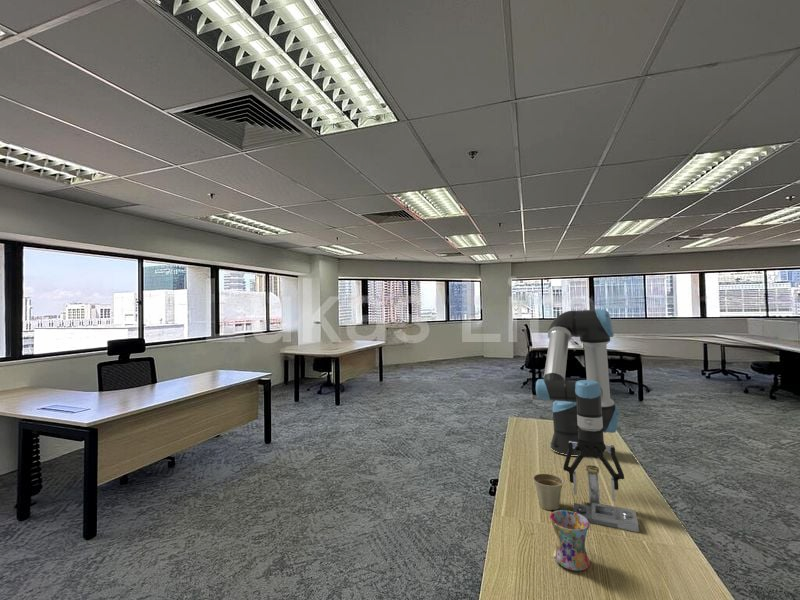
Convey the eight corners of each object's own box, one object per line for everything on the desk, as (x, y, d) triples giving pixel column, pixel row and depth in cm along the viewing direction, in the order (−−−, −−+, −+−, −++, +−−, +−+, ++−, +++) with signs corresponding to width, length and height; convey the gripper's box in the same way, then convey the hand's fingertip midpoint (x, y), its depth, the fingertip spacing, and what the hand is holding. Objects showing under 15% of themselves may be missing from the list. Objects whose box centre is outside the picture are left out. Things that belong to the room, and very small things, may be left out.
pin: (588, 500, 122) (586, 464, 123) (601, 503, 120) (598, 466, 121) (588, 506, 119) (586, 469, 119) (601, 508, 117) (599, 470, 118)
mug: (596, 577, 87) (593, 532, 88) (555, 572, 89) (552, 527, 90) (584, 546, 99) (581, 506, 99) (547, 542, 101) (545, 503, 101)
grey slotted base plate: (574, 506, 119) (573, 497, 119) (635, 518, 111) (634, 508, 111) (573, 519, 112) (572, 509, 112) (638, 532, 104) (638, 521, 104)
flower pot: (563, 500, 123) (562, 474, 123) (566, 515, 114) (564, 487, 114) (533, 497, 126) (532, 472, 126) (534, 511, 117) (533, 484, 117)
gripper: (552, 427, 123) (555, 494, 122) (631, 435, 112) (636, 508, 111) (553, 421, 129) (557, 484, 128) (629, 428, 119) (633, 497, 118)
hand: (594, 495), depth 120 cm, fingers open, 10 cm apart
